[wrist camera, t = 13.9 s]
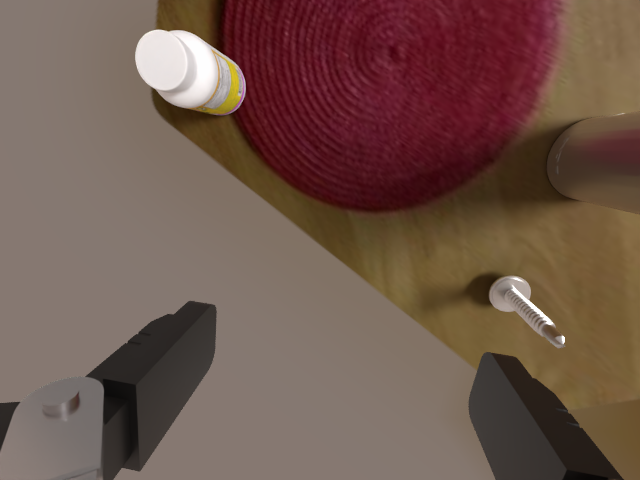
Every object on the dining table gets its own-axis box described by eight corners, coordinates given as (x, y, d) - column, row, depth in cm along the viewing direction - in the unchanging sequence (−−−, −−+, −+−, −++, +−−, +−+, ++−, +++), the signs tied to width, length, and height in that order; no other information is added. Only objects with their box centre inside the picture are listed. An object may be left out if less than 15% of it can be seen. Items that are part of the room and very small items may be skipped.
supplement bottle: (184, 88, 40) (108, 61, 28) (217, 44, 38) (151, -6, 26) (224, 128, 41) (167, 119, 29) (258, 86, 39) (213, 58, 27)
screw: (500, 263, 42) (530, 283, 42) (475, 291, 43) (504, 310, 43) (561, 311, 29) (604, 339, 29) (523, 349, 31) (564, 375, 31)
